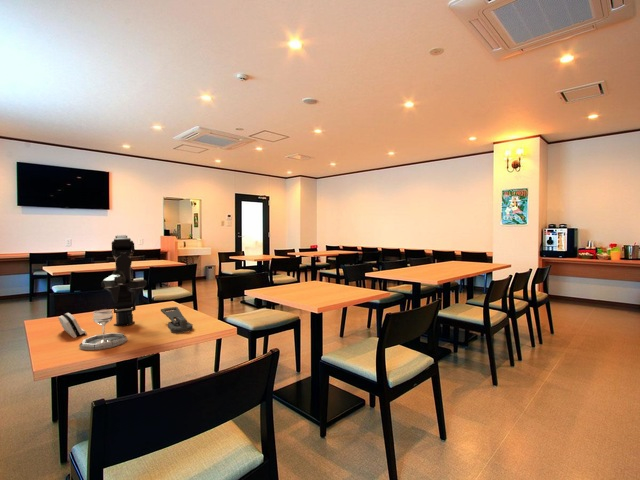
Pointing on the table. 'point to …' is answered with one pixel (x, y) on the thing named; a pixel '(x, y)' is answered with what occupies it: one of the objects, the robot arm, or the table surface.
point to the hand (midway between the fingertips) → (124, 303)
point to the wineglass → (103, 320)
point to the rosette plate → (91, 344)
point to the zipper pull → (177, 320)
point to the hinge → (71, 325)
